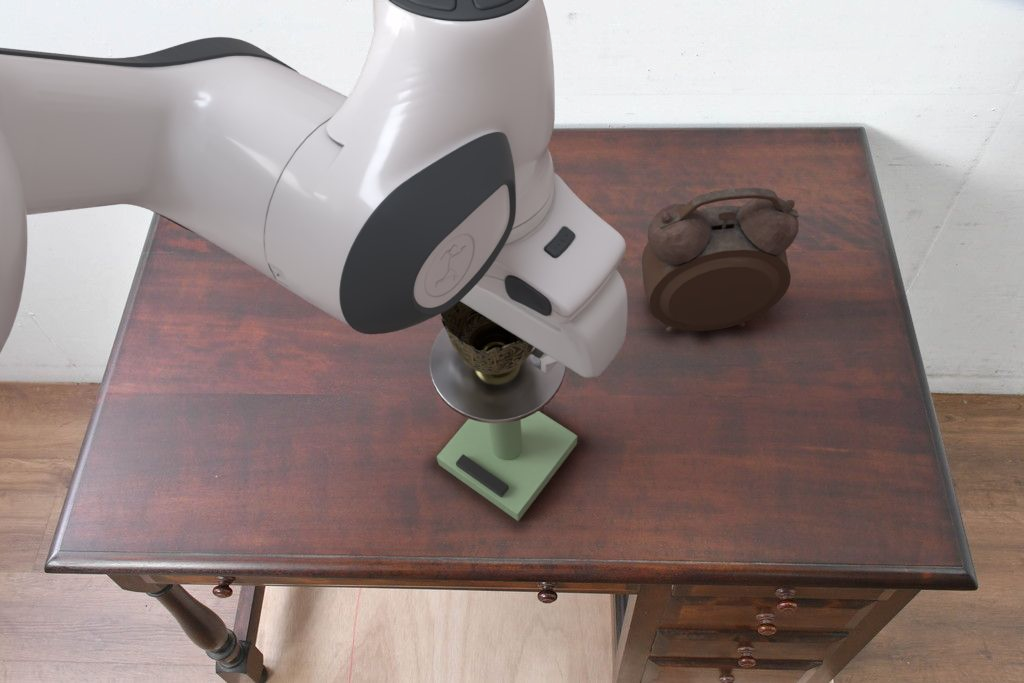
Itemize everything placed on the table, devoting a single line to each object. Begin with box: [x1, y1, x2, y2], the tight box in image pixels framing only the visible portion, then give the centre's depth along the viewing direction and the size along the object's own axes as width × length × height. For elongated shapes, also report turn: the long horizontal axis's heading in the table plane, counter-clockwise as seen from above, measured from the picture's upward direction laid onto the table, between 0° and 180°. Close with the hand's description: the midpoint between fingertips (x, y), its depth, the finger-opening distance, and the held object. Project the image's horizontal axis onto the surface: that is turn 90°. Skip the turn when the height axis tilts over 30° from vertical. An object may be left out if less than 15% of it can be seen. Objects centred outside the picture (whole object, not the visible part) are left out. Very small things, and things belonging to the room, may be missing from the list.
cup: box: [440, 301, 534, 375], centre depth 60 cm, size 8×7×8 cm
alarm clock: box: [641, 187, 800, 333], centre depth 80 cm, size 15×7×20 cm, turn 94°
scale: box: [436, 410, 578, 522], centre depth 73 cm, size 10×10×18 cm
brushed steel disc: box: [429, 326, 567, 424], centre depth 65 cm, size 11×11×2 cm
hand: (494, 331), depth 60 cm, fingers open, 8 cm apart
